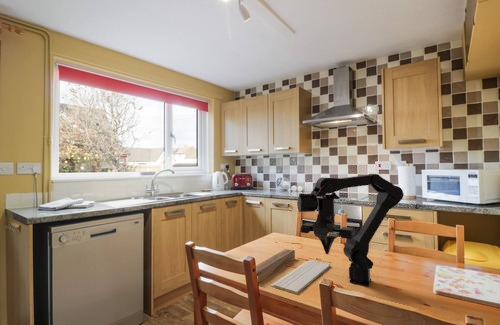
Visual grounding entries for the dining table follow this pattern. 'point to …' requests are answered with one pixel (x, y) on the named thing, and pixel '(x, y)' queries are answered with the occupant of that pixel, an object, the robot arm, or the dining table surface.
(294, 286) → the baseboard molding
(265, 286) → the dining table surface
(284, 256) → the walnut plank
